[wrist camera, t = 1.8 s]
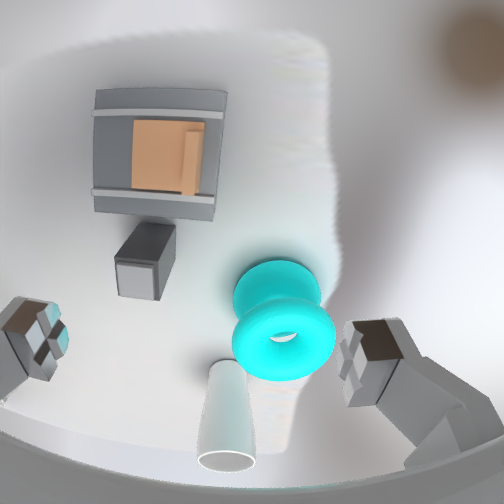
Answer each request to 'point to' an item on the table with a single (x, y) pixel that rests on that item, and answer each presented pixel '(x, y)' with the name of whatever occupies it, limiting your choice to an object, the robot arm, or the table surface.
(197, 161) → the block
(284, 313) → the donuts
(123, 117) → the socket plate
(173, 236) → the plug
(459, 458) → the robot arm
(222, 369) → the drinking glass
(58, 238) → the table surface
